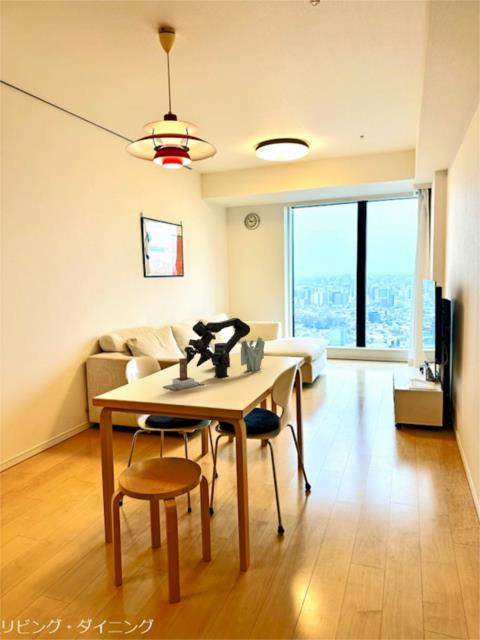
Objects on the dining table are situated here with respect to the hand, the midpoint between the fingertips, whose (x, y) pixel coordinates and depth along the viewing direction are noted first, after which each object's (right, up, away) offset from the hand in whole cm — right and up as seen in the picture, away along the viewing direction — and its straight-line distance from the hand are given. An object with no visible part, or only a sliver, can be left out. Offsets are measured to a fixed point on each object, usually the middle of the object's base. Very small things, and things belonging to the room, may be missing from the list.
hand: (191, 365), depth 239 cm
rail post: (-4, -10, -4) cm, 11 cm away
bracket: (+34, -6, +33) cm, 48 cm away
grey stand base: (-4, -11, -4) cm, 12 cm away
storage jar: (+15, -6, +47) cm, 49 cm away
